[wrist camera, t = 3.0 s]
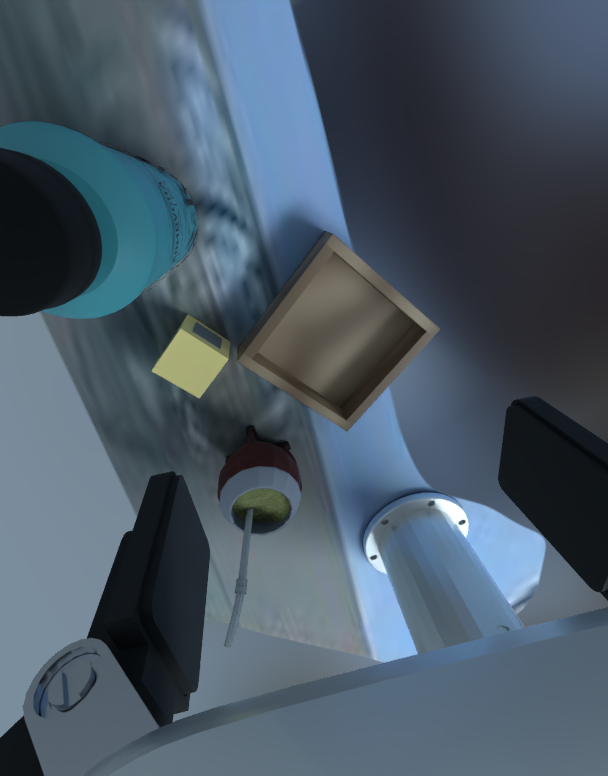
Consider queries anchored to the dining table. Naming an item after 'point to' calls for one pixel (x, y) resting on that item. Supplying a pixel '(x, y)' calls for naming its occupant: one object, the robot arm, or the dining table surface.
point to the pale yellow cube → (193, 357)
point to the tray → (335, 334)
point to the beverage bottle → (83, 223)
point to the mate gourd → (257, 499)
